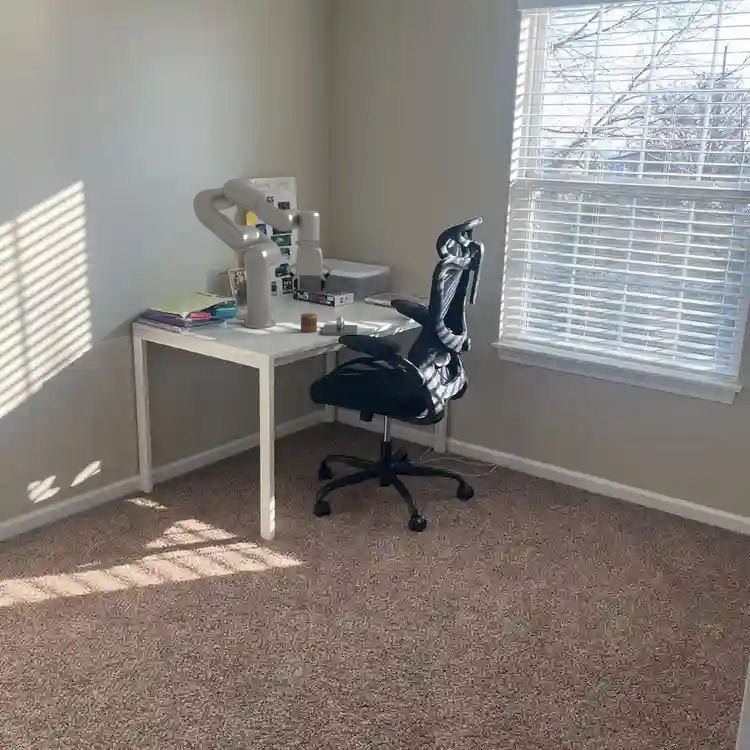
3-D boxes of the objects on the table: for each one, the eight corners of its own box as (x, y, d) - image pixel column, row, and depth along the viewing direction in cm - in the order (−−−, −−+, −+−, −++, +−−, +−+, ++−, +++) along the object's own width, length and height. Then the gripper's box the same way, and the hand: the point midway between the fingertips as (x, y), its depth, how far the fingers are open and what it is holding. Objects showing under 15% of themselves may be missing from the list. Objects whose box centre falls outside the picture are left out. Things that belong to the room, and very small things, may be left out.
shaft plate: (322, 335, 310) (322, 320, 309) (324, 327, 323) (324, 312, 321) (356, 336, 310) (356, 321, 309) (357, 328, 323) (357, 313, 321)
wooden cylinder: (300, 332, 314) (300, 315, 312) (301, 328, 319) (301, 312, 318) (316, 332, 314) (316, 316, 312) (317, 329, 319) (317, 312, 318)
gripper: (285, 245, 303) (285, 291, 308) (332, 246, 304) (331, 292, 308) (287, 242, 311) (287, 287, 316) (333, 243, 311) (332, 288, 316)
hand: (309, 289), depth 312 cm, fingers open, 9 cm apart
